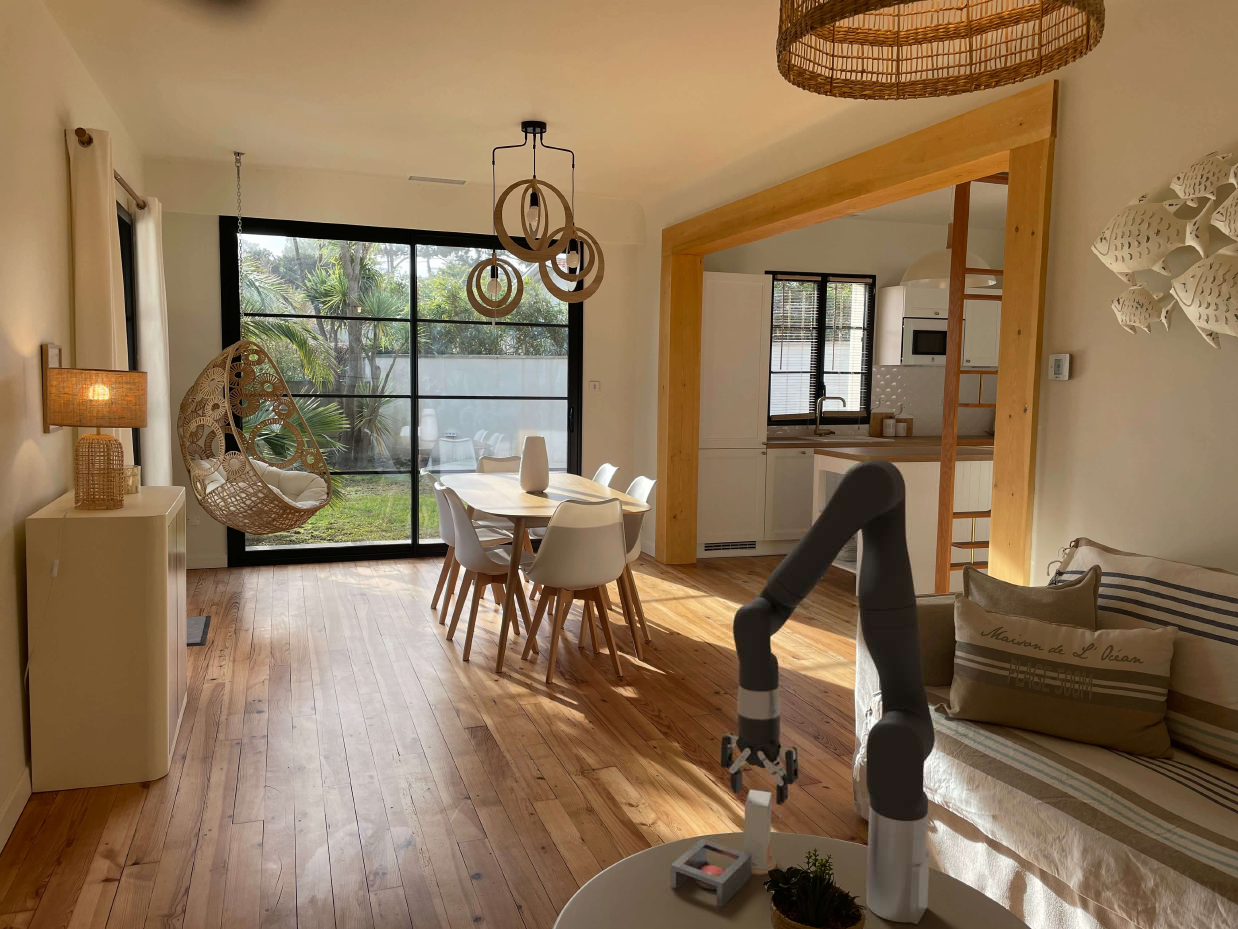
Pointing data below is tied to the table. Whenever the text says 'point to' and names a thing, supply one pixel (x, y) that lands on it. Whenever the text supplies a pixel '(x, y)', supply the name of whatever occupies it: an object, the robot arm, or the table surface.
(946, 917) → the table surface
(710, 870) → the button
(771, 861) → the coaster
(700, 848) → the grey square frame
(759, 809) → the skincare box
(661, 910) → the table surface
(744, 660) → the robot arm
